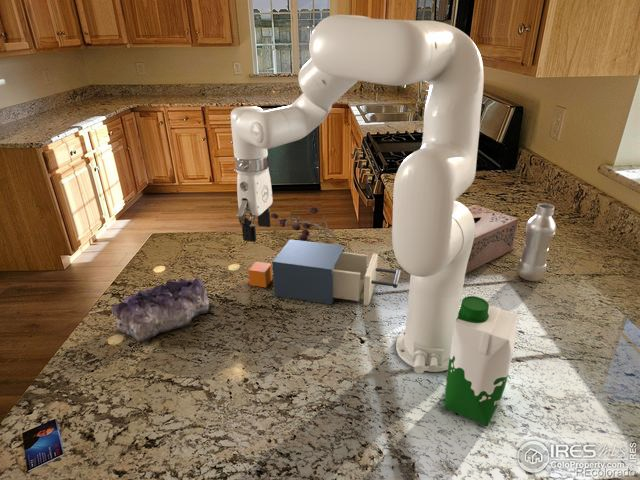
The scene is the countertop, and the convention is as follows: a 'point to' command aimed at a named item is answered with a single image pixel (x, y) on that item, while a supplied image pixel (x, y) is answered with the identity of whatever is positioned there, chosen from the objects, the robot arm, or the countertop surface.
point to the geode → (161, 308)
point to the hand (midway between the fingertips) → (257, 232)
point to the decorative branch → (305, 225)
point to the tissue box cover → (490, 235)
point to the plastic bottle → (537, 243)
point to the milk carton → (479, 359)
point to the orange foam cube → (260, 274)
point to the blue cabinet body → (306, 271)
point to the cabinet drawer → (358, 277)
